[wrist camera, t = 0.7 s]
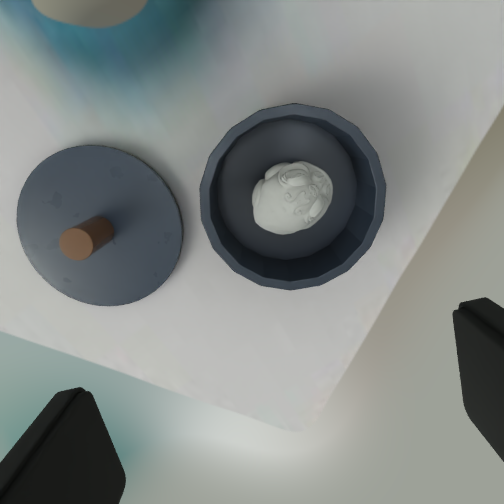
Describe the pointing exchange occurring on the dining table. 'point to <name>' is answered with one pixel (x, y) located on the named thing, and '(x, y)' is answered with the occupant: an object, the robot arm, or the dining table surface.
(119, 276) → the lid
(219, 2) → the dining table surface
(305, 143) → the pot
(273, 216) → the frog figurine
